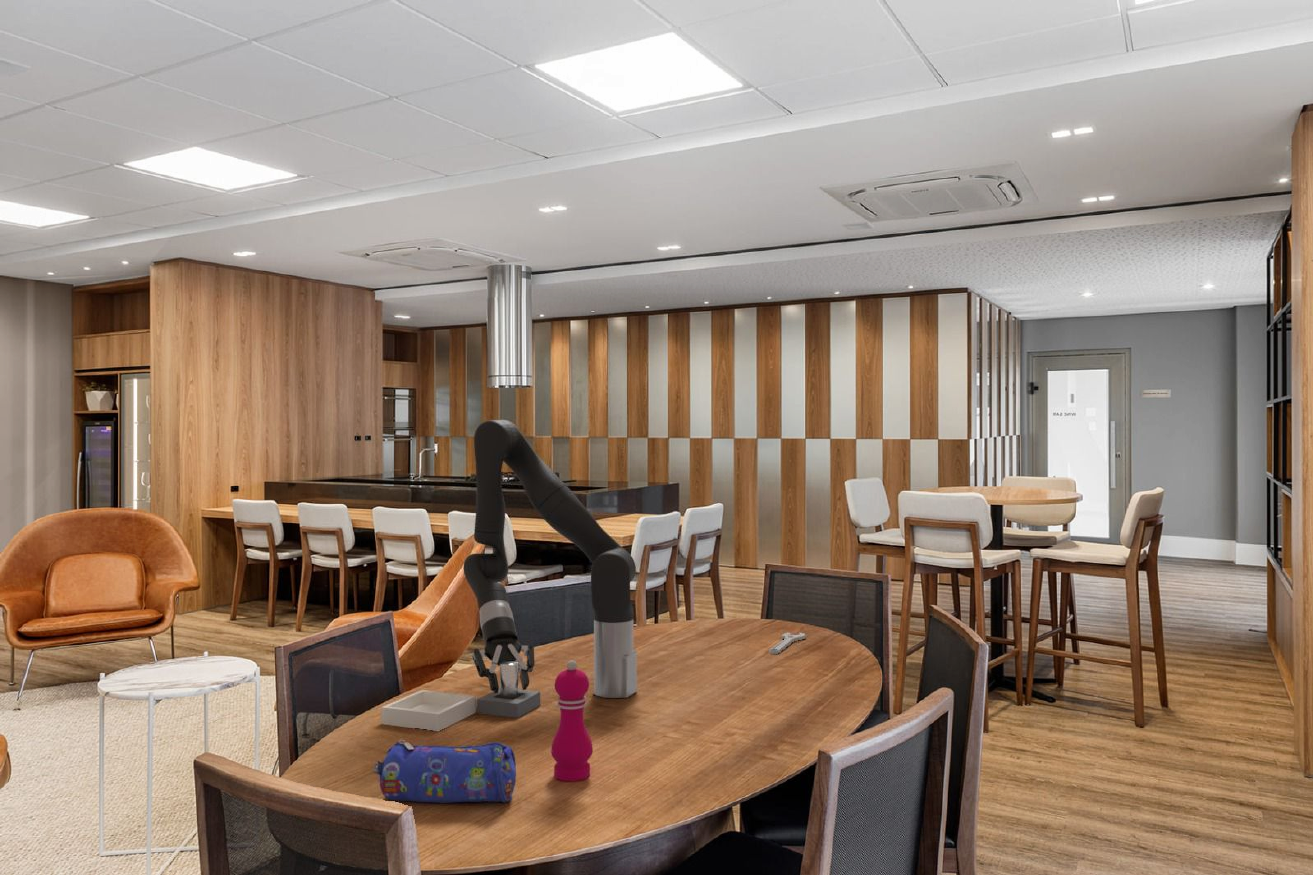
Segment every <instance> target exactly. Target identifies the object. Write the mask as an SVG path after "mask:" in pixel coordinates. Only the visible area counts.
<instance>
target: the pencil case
mask: <svg viewBox="0 0 1313 875" xmlns="http://www.w3.org/2000/svg"><path fill="white" fill-rule="evenodd" d="M374 765H375V766H374V769H373V771H372V772H373V774H377V775H379V779H378V780H379V781H378V782H379V787H380V790H381V793H382V795H383V796H384V797H385V799H387V800H391V801H395V802H415V803H416V802H417V803H418V802H419V803H440V804H444V803H445V804H446V803H447V804H448V803H453V804H454V803H467V802H468V803H469V802H470V803H471V802H473V803H475V802H479V803H480V802H494V803H498V802H503V803H506V802H510V800H511V798H512V796H513V793H514V790H515V784H516V780H517V779H516V778H517V766H516V757H515V753H514V750H513V749H512V747H509V746H508V745H506V744H504V743H502V742H497V741H495V742H490V743H484V744H478V745H463V746H445V745H419V744H417V745H414V744H413V745H411V744H410V743H409V742H406V740H404V739H400V740H399V741H397V742H396V743H395V744H394V745H392V746H391V747H390V748H389V749H388V750H387V752H386V754H385V757H384V759H383V761H379V760H376V762H375V764H374Z"/></svg>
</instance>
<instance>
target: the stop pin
mask: <svg viewBox="0 0 1313 875" xmlns="http://www.w3.org/2000/svg"><path fill="white" fill-rule="evenodd" d="M499 688H500V698H503V699H512V700H514V699H516V698H518V689H519V672H518V662H514V661H507V662H502V663H500V666H499Z"/></svg>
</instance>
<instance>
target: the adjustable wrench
mask: <svg viewBox="0 0 1313 875" xmlns="http://www.w3.org/2000/svg"><path fill="white" fill-rule="evenodd" d="M780 637H782V639H781V641H779V642H778V643H776V644H775V645H773V646H772V647H771V648H769V654H770V653H771V654H770V655H774V654H775V655H779V654H781V653H782V652H783V651H785V650H786V649H787V648H788V647H789V646H791V645H792V644H793V643H794V642H793V641H796V642H799V641H798V640H801V641H803V640H802V639H806V634H805V633H804V632H799V633H798V634H791V632H785V633H783V634H781V635H780ZM783 639H784V640H783ZM792 642H793V643H792ZM791 643H792V644H791ZM787 646H788V647H787ZM786 647H787V648H786ZM782 650H783V651H782ZM781 651H782V652H781ZM778 653H779V654H778Z"/></svg>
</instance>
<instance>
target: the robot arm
mask: <svg viewBox="0 0 1313 875" xmlns="http://www.w3.org/2000/svg"><path fill="white" fill-rule="evenodd" d="M473 447H474V457H475V474H476V506H475V507H476V508H475V520H474V532H473V536H474V537H473V538H474V541H475V542H476V543H478V544H480V545H483V546H487V547H491V548H492V553H488V552H487V553H479V552H478V553H471V554H469V555H468V556H467V557H466V558H465V559H464V562H463V574H464V577H465V579H466V582H467V584H468V585H469V587H470V588H471V590H472V592H473V593H474V596H475V598H476V602H477V606H478V611H479V622H480V626H479V627H480V629H481V633H482V637H483V638H482V639H483V644H484V648H482V649H479V648H474V649H473V653H472V656H471V657H472V660H473V662H474V665H475V668H476V671H477V673H478V676H479V677H480V678H484V677H485V678H487V679H488V682H489V689H490V691H492V692H493V691H494V693H498V690H499V688H500V684H499V682H498V676H497V673H496V669H497V666H498V667H500V663H502V662H507V661H514V662H518V674H519V680H520V684H521V688H522V689H521V690H528V689H527V688H528V687H529V686H530V678H529V673H532V672H533V671H534V667H535V663H536V662H535V646H534V644H533V643H529V644H528V645H522V644H521V643H520V641H519V639H518V638H519V636H518V633H517V629H516V624H515V620H514V614H513V611H512V609H511V606H510V602H509V597H508V593H507V590H506V587H505V585H503V584H502V583H501V582H503V581H505V579H506V578H507V576H508V574H509V563H508V559H507V552H506V547H505V541H504V540H505V536H504V534H505V525H506V524H505V522H506V521H505V520H506V504H505V497H504V492H503V488H502V469H503V464H506V466H508V467H509V469H511V471H513V473H514V474H515V475H516V477H518V479H519V481H520V483H521V485H522V488H523V489H524V492H525V495H526V497H527V498H528V500H529V502H530V504H531V505H532V507H533V508H534V509H535V511H536V512H537V513H538V514H539V515H540V516H541V517H542V518H543V519H542V520H544V521H545V522H546V523H547V524H548V525H549V526H550V527H551V529H553V530H554V531H556V532H557V533H559V534H560V535H561V536H562V537H564V538H566V539H567V540H568V541H569V542H571V543H573V544H574V545H575V546H577V548H579V550H581V551H582V552H583V553H584V554H585V556H586V558H588V559H589V561H590V563H592V565H591V571H590V596H591V597H590V598H591V599H590V600H591V608H592V611H593V693H594V696H597V697H600V698H605V699H606V698H608V699H617V698H619V699H620V698H624V699H626V698H629V697H630V696H632V695H634V694H635V693H636V692H637V691H638V688H637V686H638V675H637V674H638V671H637V670H638V668H637V667H638V666H637V665H638V663H637V662H638V659H637V657H638V656H637V655H638V653H637V650H634V607H633V605H632V600H631V582H633V580H634V578H635V576H636V572H637V568H636V567H637V566H636V562H635V560H634V558H633V556H632V555H631V554H630V553H629V552H628V550H626V549H625V548H624V547H622V545H620V544H619V543H618V542H617V541H616V540H615V539H614V538H613V537H611V535H609V534H608V532H606V531H605V530H604V529H603V527H601V525H600V524H599V523H598V521H597V519H595V518H594V516H593V515H592V514H591V512H590V511H589V510H588V509H587V507H586V506H585V505H584V504H583V503H582V502H581V501H580V500H579V498H578V497H577V496H576V494H575V493H573V491H572V490H571V489H570V488H569V487H568V485H566V484H565V483H564V482H563V481H562V480H561V478H559V477H558V475H557V474H556V473H555V472H554V471H553V470H552V468H551V467H550V466H548V465H547V463H546V462H544V460H543V459H542V458H541V457H540V455H538V454H537V453H536V451H535V450H534V448H533V446H531V444H530V443H529V441H528V440H527V439H526V437H525V436H524V434H523V433H522V432H521V430H520V429H519V428H518V427H517V425H516V424H514V423H513V422H511V421H510V420H506V419H490V420H486V421H484V422H482V423H480V424H479V425H478V426H477V428H476V429H475V431H474V437H473ZM521 652H522V653H523V655H524V656H525V657H526V663H525V662H524V659H523V657H522V656H521V655H520V653H521ZM485 656H486V657H487V659H489V661H491V664H490V667H489V668H487V667H486V665H485V662H484V661H485V660H484V657H485Z"/></svg>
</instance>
